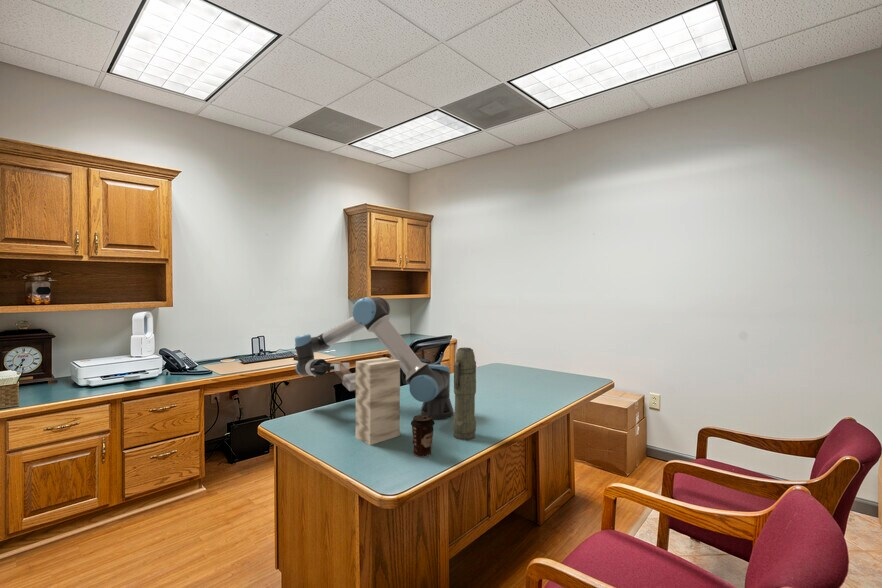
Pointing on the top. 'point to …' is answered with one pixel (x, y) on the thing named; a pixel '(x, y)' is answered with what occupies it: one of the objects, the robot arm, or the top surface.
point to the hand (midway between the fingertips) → (344, 366)
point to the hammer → (346, 376)
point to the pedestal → (377, 400)
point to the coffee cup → (422, 434)
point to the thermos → (464, 394)
